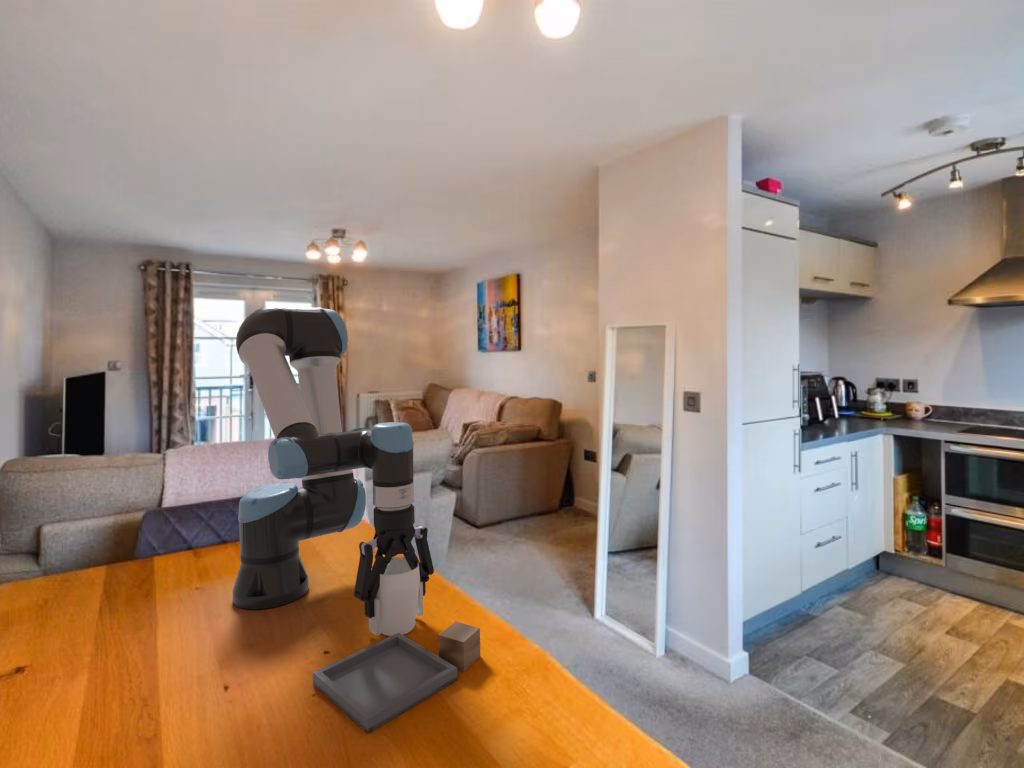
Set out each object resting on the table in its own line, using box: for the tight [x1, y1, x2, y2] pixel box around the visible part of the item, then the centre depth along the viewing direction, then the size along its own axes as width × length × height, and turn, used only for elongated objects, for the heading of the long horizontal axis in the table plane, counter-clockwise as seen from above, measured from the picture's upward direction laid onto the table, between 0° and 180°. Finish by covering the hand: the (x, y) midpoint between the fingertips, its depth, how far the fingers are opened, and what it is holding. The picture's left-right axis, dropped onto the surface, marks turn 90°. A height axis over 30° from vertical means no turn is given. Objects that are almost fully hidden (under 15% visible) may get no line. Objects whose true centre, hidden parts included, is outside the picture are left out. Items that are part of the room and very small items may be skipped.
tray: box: [312, 633, 458, 734], centre depth 82 cm, size 16×16×2 cm
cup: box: [372, 556, 420, 637], centre depth 99 cm, size 9×9×12 cm
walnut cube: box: [438, 621, 481, 673], centre depth 88 cm, size 5×5×5 cm
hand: (396, 622), depth 99 cm, fingers closed on cup, 9 cm apart
